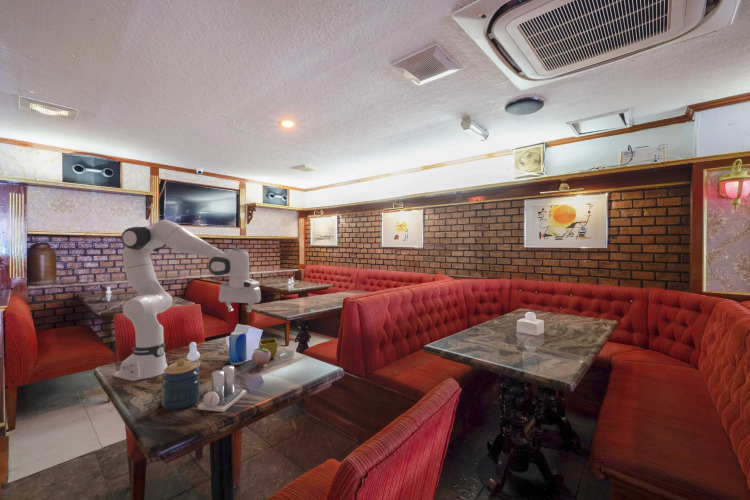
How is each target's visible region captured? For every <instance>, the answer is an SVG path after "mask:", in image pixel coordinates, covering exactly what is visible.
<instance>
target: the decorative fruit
mask: <svg viewBox="0 0 750 500" xmlns="http://www.w3.org/2000/svg"><path fill="white" fill-rule="evenodd" d="M270 357H271V353H270V351H269V350H268V349H265V348H262V347H261V349H260V347H259V348H255V349H254V350H253V353H252V355H251V359H252V362H253V363H254V364H256V365H258V366H260V367H263V366H265V365H267V364H268V363H269V362H270V360H271V358H270Z"/></svg>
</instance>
